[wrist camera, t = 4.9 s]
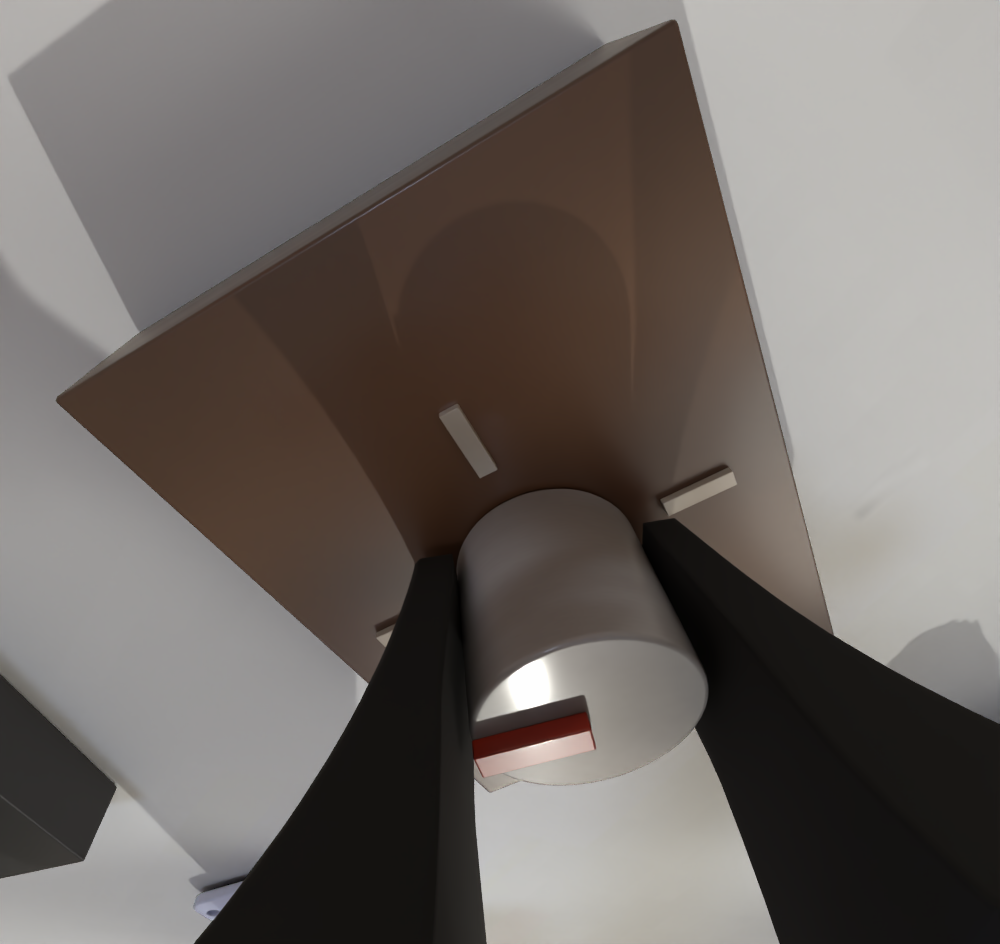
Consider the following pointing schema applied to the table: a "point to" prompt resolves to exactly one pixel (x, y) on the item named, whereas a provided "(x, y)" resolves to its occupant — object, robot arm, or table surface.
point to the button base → (44, 791)
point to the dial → (570, 644)
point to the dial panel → (475, 361)
